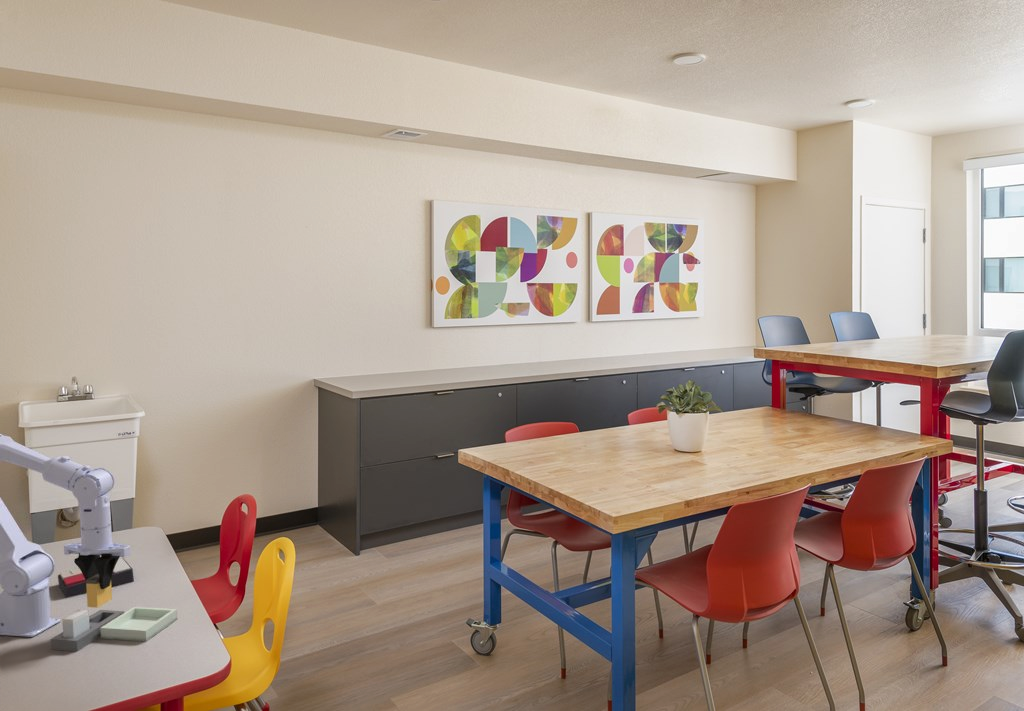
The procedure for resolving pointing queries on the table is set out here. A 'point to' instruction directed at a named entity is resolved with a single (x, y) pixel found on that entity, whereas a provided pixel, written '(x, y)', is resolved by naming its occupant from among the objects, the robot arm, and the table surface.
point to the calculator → (76, 583)
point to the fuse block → (89, 635)
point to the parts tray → (139, 624)
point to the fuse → (76, 623)
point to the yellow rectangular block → (97, 592)
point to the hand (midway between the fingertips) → (99, 587)
